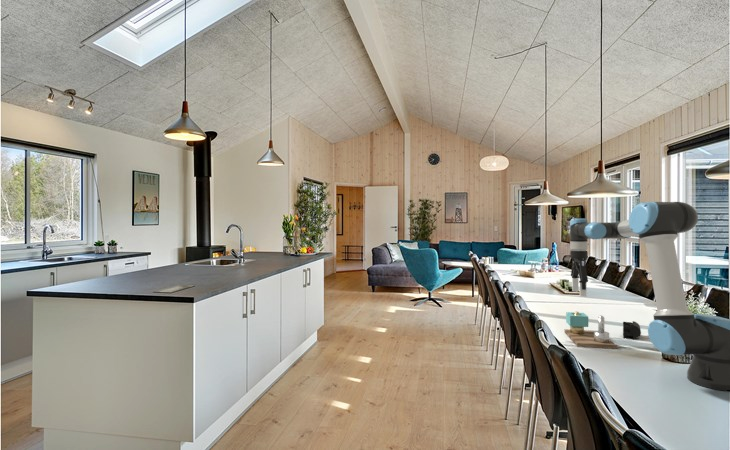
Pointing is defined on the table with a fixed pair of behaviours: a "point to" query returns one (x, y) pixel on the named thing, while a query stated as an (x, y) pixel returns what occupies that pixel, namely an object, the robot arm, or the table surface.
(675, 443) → the table surface
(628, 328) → the end cap
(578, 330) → the hub
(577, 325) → the collar
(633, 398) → the table surface
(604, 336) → the stand rod
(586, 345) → the board
